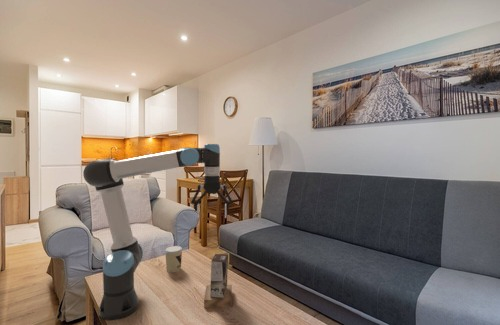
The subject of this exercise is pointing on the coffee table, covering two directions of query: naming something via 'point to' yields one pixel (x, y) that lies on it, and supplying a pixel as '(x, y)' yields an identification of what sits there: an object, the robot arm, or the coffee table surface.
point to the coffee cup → (173, 258)
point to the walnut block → (218, 298)
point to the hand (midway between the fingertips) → (212, 217)
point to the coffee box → (219, 275)
